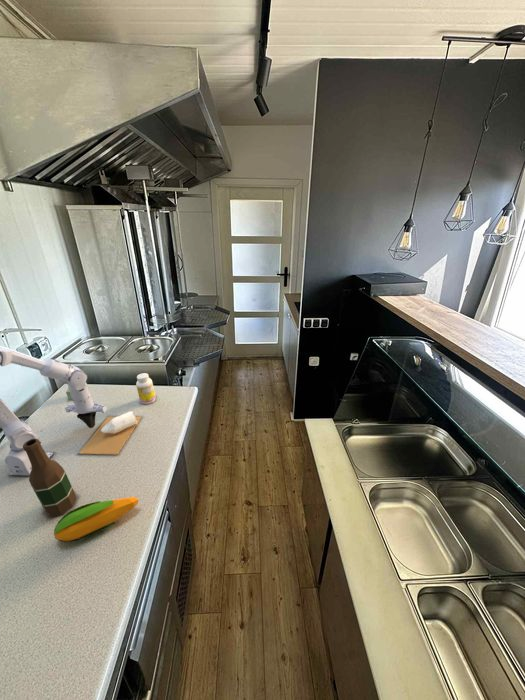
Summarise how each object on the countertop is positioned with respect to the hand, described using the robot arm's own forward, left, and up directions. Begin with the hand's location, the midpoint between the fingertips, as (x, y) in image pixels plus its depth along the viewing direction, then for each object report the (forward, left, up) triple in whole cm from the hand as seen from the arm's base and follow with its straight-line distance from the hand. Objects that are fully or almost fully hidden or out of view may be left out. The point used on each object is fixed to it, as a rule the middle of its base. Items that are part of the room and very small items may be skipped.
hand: (92, 426), depth 110 cm
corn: (-36, -24, -2) cm, 43 cm away
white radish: (0, -10, -2) cm, 11 cm away
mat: (-2, -9, -2) cm, 9 cm away
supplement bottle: (+20, -14, -2) cm, 24 cm away
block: (+22, +21, -2) cm, 31 cm away
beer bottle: (-31, -9, -2) cm, 32 cm away
